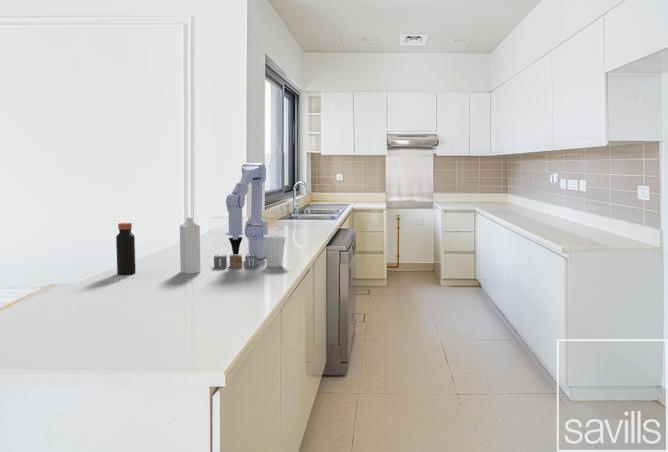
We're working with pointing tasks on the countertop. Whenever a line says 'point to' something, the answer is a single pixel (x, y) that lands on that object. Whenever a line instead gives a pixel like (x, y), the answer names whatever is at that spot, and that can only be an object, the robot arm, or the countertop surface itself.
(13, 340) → the countertop surface
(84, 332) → the countertop surface
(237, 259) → the walnut block
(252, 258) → the slate block
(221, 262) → the charcoal block
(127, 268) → the bottle
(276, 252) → the foam cup
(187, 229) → the milk
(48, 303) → the countertop surface
